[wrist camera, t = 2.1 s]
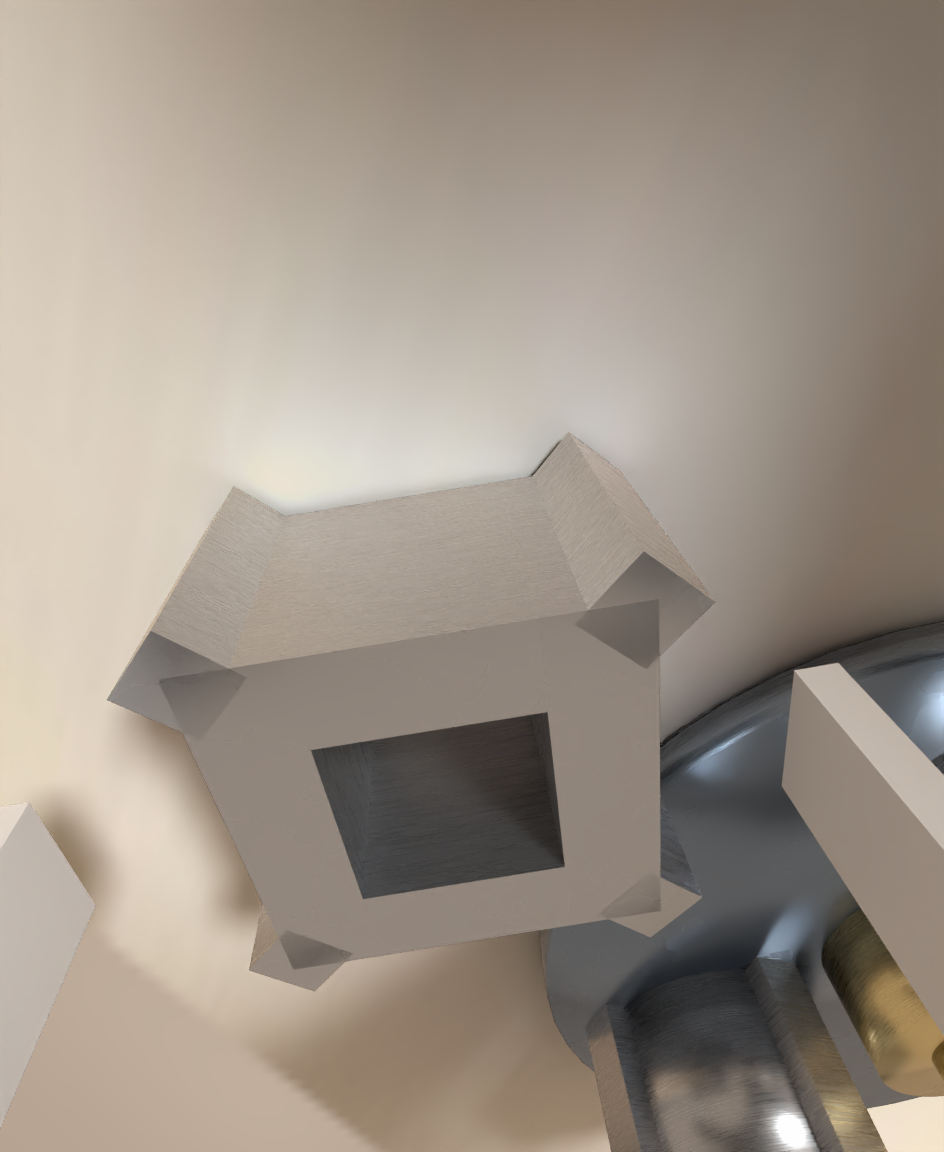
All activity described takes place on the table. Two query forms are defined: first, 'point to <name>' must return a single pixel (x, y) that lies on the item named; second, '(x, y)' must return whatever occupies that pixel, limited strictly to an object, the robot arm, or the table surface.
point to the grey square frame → (432, 711)
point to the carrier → (756, 949)
